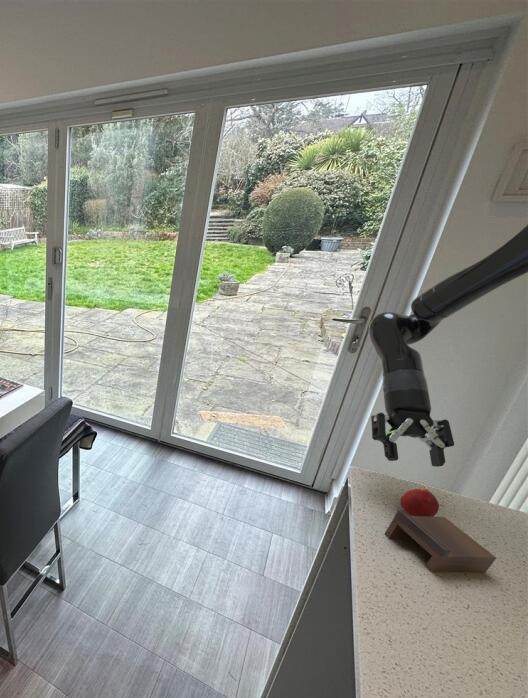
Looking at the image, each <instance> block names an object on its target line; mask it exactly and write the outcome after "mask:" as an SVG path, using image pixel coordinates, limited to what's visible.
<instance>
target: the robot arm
mask: <svg viewBox="0 0 528 698" xmlns="http://www.w3.org/2000/svg"><path fill="white" fill-rule="evenodd" d="M526 274H528V223H527V224H526V226H525V225H524V227H523V228H522V229H521V230H520V231H518V232H517V233H516V234H515V235H514V236H512V237H511V238H510V239H509V240H508V241H507V242H505V243H504V244H503V245H501V246H500V247H499V248H497V249H495V250H494V251H493V252H492V253H490V254H488V255H487V256H485V257H483V258H482V259H480V260H478V261H476V262H475V263H473V264H471V265H469V266H466V267H464V268H463V269H461V270H459V271H457V272H455V273H453V274H451V275H449V276H447V277H445V278H444V279H442V280H441V281H439V282H438V283H436V284H435V285H433V286H431V287H430V288H428V289H427V290H425V291H424V292H422V293H421V294H420V295H418V296H416V297H415V298H414V299H413V300H412V301H411V303H410V309H411V312H412V314H410V315H406V314H402V313H398V312H392V311H386V312H385V311H384V312H381V313H378V314H377V315H375V316H374V317H373V318H372V319H371V321H370V322H369V326H368V337H369V339H370V342H371V344H372V346H373V348H374V350H375V353H376V354H377V356H378V358H379V360H380V365H381V366H380V367H381V374H382V385H381V386H382V392H383V394H382V395H383V401H384V411H385V413H386V414H385V413H384V412H378V413H375V414H373V415H371V418H370V420H371V438H372V440H373V441H379V442H381V443H382V444H383V451H384V456H385V459H387V461H388V462H394V461H398V460H399V453H398V445H397V443H396V441H397V440H398V439H399V437H410V438H415V439H417V438H418V439H419V441H421V442H422V443H424V444H426V446H427V447H428V448H429V457H430V464H431V466H432V467H436V468H438V467H439V468H440V467H443V466H444V464H445V463H446V455H445V451H444V450H445V449H446V448H450V447H454V446H455V440H454V437H453V432H452V430H451V425H450V421H449V420H448V419H446V418H445V419H441V420H437V419H433V418H432V417H431V412H432V405H431V398H430V393H429V386H428V382H427V378H426V376H425V372H424V364H423V360H422V355H421V353H420V352H419V351H418V350H416V349H415V348H413V347H411V346H410V345H413V344H416V343H418V342H420V341H422V340H423V339H424V338H426V337H428V335H429V334H430V333H431V332H432V331H433V330H434V329H436V328H437V327H438V326H439V325H440V324H441V322H443V321H444V320H445V319H447V318H449V317H452V316H453V315H454V314H456V313H458V312H459V311H461V310H462V309H464V308H466V307H468V306H470V305H472V304H473V303H475V302H477V301H478V300H480V299H482V298H484V297H485V296H487V295H488V294H490V293H492V292H493V291H495V290H497V289H499V288H500V287H502V286H505V285H506V284H509V282H511V281H514V280H516V279H517V278H520V277H522V276H524V275H526ZM386 423H387V424H388V425H389V426H390V428H389V429H388V430H387V432H386Z"/></svg>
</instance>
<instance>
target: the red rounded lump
mask: <svg viewBox="0 0 528 698" xmlns="http://www.w3.org/2000/svg"><path fill="white" fill-rule="evenodd" d="M399 503H400V506H401V509H402V510H404V511H405V512H406V513H408V514H409V515H410V516H432V517H435V516H436V515H437V513H438V512H439V511H440V504H439V501H438V499H437V498H436V496H435V495H434V494H433V492H431V491H430V488H429V487H427V486H424V487H423V488H414V489H410V490H407V491H405V492H404V493H403V494H402V495H401V496H400V499H399Z"/></svg>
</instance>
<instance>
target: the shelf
mask: <svg viewBox="0 0 528 698" xmlns="http://www.w3.org/2000/svg"><path fill="white" fill-rule="evenodd" d="M384 535H385V536H386V537H387V538H388V539H407V540H408V539H410V540H411V539H412V540H414V541H415V542H416V543H417V544H418V545H419V546H420V547H422V548H423V549H424V550H425V551H426V552H427V553H428V554H429V555H430V556H431V557H430V558H429V559H428V561H427V562H426V564H425V566H424V568H426V569H427V570H428V571H429V572H431V573H464V574H465V573H467V574H468V573H469V574H470V573H472V574H485V573H487V572H488V570H489V569H490V567H491V566H492V565H493V564H494V562H495V561H496V559H497V557H496V556H495V555H494V554H493V553H491V552H490V551H489V550H487V549H486V548H485V547H484V546H482V545H481V544H480V543H479V542H478V541H476V540H475V539H474V538H472V537H471V536H470V535H469V534H467V533H466V532H465V531H464V530H462V529H461V528H460V527H458V526H457V525H456V524H454V523H453V522H452V521H451V520H449V519H448V518H447V517H446V516H434V517H432V516H410V515H409V514H408V513H406V512H405V511H404V510H403V509H398V510H397V511H396V513H395V515H394V517H393V518H392V520H391V522H390V523H389V524H388V527H387V528H386V530H385V532H384Z"/></svg>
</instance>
